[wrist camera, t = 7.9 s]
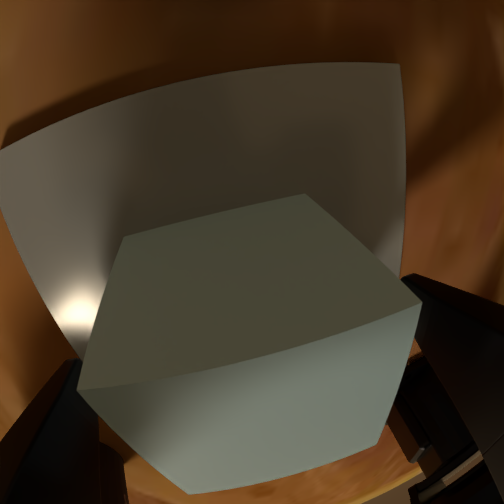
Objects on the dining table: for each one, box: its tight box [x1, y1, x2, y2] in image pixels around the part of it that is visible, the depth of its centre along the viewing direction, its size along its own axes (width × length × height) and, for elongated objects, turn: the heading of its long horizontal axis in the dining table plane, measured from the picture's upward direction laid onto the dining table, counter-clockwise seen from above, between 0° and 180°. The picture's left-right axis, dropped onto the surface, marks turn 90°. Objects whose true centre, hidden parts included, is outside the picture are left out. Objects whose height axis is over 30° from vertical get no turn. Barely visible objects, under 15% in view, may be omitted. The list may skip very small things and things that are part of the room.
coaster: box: [0, 62, 406, 362], centre depth 10 cm, size 12×12×1 cm
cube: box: [77, 193, 422, 495], centre depth 7 cm, size 5×5×5 cm
